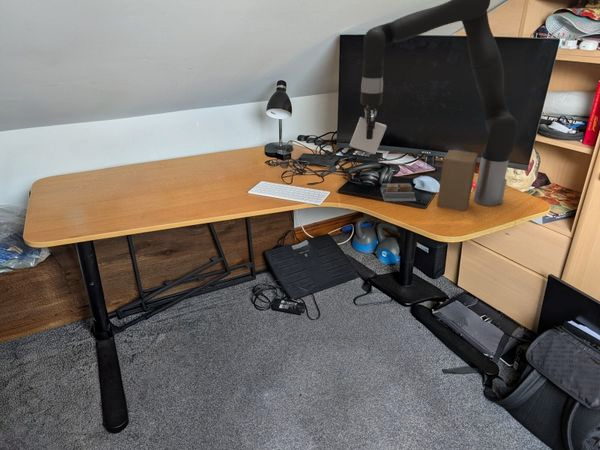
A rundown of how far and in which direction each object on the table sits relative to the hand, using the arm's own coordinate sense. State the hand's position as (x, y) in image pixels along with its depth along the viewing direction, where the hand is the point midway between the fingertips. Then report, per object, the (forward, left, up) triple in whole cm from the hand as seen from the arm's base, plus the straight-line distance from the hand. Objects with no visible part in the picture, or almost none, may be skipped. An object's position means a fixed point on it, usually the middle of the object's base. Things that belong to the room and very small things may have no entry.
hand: (368, 137), depth 168 cm
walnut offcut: (-15, +4, -21) cm, 26 cm away
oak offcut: (-10, +4, -21) cm, 24 cm away
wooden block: (-31, +11, -23) cm, 40 cm away
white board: (+2, 0, -4) cm, 5 cm away
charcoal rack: (-12, +3, -23) cm, 26 cm away
